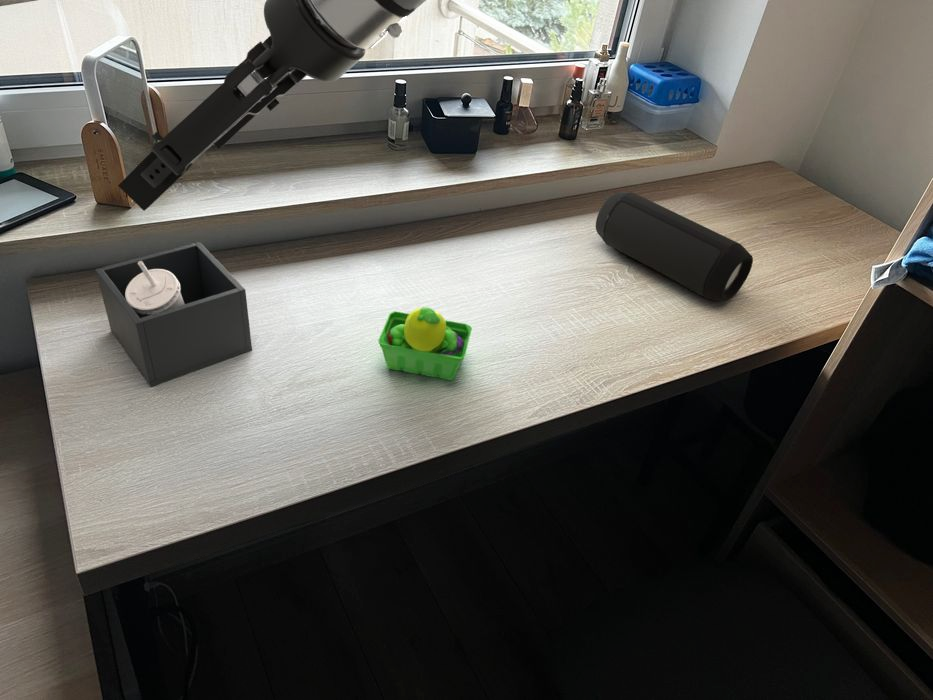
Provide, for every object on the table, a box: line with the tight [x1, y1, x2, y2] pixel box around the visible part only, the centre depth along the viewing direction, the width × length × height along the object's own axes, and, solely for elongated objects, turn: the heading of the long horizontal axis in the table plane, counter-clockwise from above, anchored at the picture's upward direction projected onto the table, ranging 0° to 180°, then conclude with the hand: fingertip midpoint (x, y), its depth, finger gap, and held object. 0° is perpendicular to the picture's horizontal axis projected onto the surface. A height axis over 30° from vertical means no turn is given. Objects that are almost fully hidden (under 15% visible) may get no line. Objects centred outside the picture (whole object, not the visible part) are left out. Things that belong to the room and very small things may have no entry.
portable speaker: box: [595, 191, 754, 302], centre depth 121 cm, size 26×10×10 cm, turn 44°
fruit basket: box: [378, 306, 473, 381], centre depth 94 cm, size 11×9×11 cm
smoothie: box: [125, 261, 185, 317], centre depth 90 cm, size 6×6×14 cm
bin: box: [95, 241, 253, 388], centre depth 94 cm, size 14×14×10 cm
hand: (174, 164), depth 65 cm, fingers open, 13 cm apart
